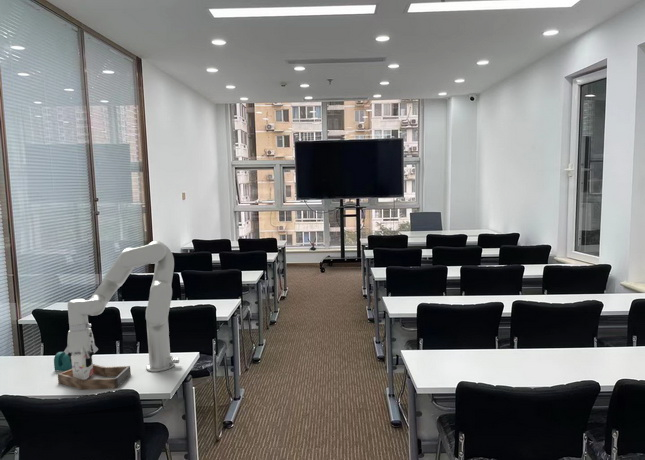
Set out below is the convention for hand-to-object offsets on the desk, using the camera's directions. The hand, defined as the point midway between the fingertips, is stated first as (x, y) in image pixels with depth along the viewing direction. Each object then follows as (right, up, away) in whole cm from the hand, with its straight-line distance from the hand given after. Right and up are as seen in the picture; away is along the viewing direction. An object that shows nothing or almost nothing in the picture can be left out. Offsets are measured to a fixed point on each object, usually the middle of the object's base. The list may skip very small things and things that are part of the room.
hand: (82, 366), depth 205 cm
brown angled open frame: (+5, -6, 0) cm, 8 cm away
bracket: (-15, -5, +21) cm, 27 cm away
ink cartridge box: (0, -6, 0) cm, 6 cm away
